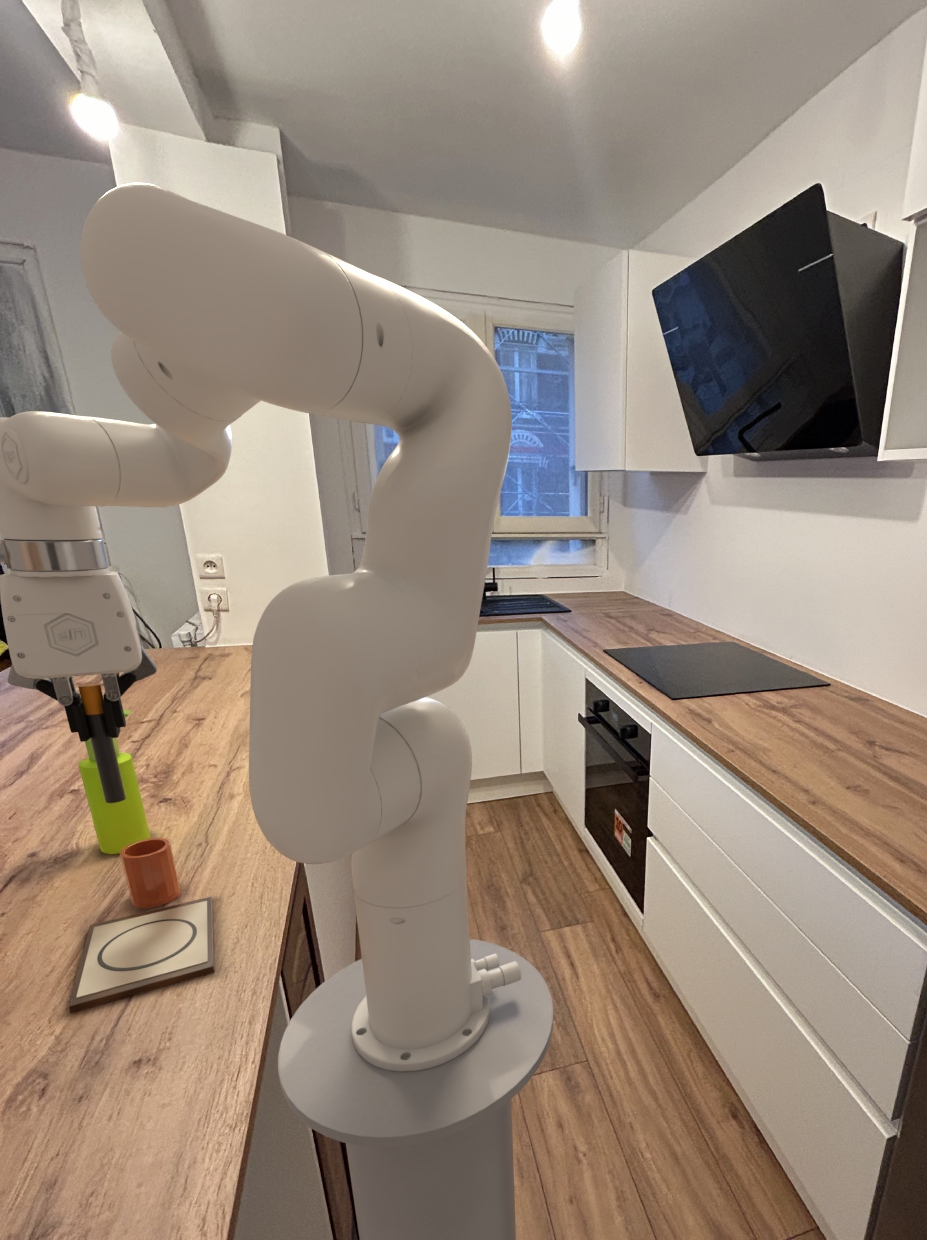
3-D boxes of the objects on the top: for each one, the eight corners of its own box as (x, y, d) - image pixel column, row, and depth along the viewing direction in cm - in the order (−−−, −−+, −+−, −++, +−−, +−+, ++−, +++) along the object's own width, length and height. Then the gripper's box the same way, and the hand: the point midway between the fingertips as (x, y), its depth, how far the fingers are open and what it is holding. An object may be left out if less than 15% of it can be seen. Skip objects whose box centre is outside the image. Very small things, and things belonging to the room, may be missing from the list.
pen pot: (181, 882, 84) (170, 834, 82) (179, 901, 80) (168, 851, 78) (134, 892, 82) (122, 843, 79) (130, 912, 78) (117, 861, 75)
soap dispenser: (155, 847, 92) (125, 714, 86) (96, 857, 89) (59, 720, 83) (162, 830, 97) (133, 703, 91) (105, 838, 94) (72, 708, 88)
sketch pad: (212, 901, 80) (211, 895, 80) (214, 972, 68) (213, 964, 68) (91, 930, 74) (89, 923, 74) (70, 1013, 62) (67, 1005, 62)
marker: (126, 795, 72) (101, 682, 68) (125, 801, 71) (98, 685, 67) (106, 798, 71) (79, 684, 67) (104, 804, 70) (76, 687, 66)
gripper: (-66, 562, 56) (-7, 759, 62) (154, 560, 64) (188, 735, 70) (-41, 556, 62) (11, 736, 68) (158, 555, 70) (189, 716, 76)
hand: (100, 734), depth 69 cm, fingers closed on marker, 1 cm apart
